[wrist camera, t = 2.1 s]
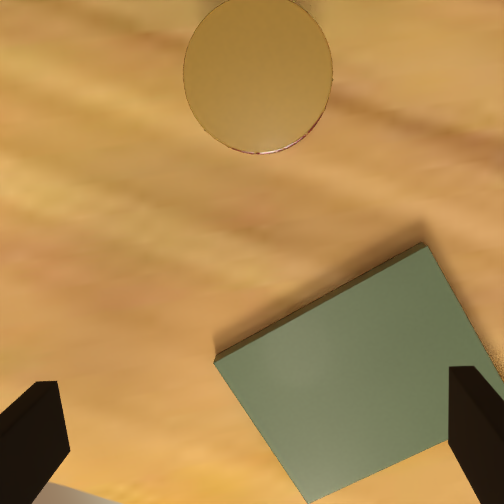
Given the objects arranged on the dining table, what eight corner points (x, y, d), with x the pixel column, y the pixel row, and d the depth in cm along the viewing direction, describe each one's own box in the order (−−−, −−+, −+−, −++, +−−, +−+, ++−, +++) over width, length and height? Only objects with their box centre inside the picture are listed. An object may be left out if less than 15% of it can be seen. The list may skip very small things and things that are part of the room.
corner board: (307, 492, 42) (307, 504, 41) (215, 355, 40) (213, 363, 39) (508, 398, 39) (517, 407, 37) (421, 241, 37) (427, 245, 35)
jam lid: (236, 178, 26) (233, 180, 25) (163, 57, 25) (154, 50, 23) (355, 104, 25) (360, 100, 23) (283, -27, 24) (283, -42, 22)
